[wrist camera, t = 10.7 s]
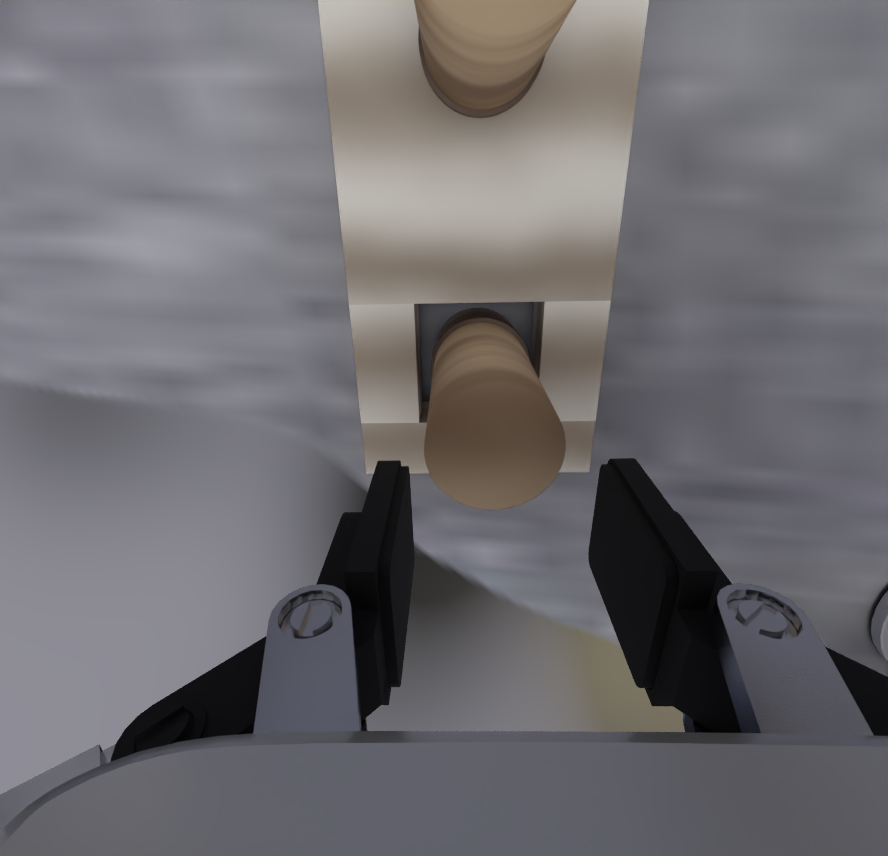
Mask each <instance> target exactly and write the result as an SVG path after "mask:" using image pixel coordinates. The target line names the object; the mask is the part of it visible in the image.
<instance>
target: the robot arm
mask: <svg viewBox="0 0 888 856" xmlns="http://www.w3.org/2000/svg"><path fill="white" fill-rule="evenodd" d="M589 564H590V568H591V570H592V573H593V575H594V578H595V581H596V583H597V586H598V588H599V591H600V594H601V596H602V599H603V601H604V604H605V606H606V609H607V612H608V614H609V617H610V619H611V622H612V625H613V627H614V630H615V632H616V635H617V637H618V640H619V643H620V645H621V648H622V650H623V653H624V655H625V658H626V661H627V663H628V666H629V669H630V671H631V673H632V676H633V679H634V681H635V683H636V685H637V686H638V687H639V688H645V690H646V692H647V694H648V697H649V699H650V702H651V705H652V706H674V707H675V708H677V709H678V710H680V711H681V712H683V724H684V729H685V732H550V731H549V732H547V731H546V732H544V731H540V732H539V731H367V719H366V717H367V716H368V715H370V714H371V713H372V712H373V711H374V710H376V709H377V708H378V707H379V706H380V705H389V699H390V692H391V687H400V685H401V677H402V669H403V660H404V651H405V642H406V633H407V624H408V615H409V606H410V597H411V588H412V579H413V569H414V541H413V524H412V507H411V489H410V472H409V466H401V461H400V460H390V461H378V462H377V465H376V468H375V471H374V474H373V478H372V481H371V484H370V488H369V491H368V494H367V498H366V501H365V504H364V507H363V510H362V512H345V513H343V515H342V517H341V519H340V522H339V525H338V527H337V530H336V533H335V536H334V538H333V541H332V544H331V546H330V549H329V552H328V555H327V557H326V560H325V563H324V566H323V568H322V571H321V574H320V576H319V579H318V582H317V584H316V585H310V586H306V587H303V588H299V589H297V590H295V591H293V592H291V593H289V594H288V595H287V596H286V597H284V598H283V599H282V600H280V601H279V602H278V604H277V605H276V606H275V608H274V609H273V610H272V612H271V615H270V618H269V623H268V630H267V636H266V637H264V638H262V639H261V640H259V641H258V642H256V643H254V644H253V645H251V646H250V647H248V648H246V649H244V650H243V651H241V652H239V653H238V654H236V655H235V656H233V657H231V658H230V659H228V660H226V661H225V662H223V663H221V664H220V665H218V666H216V667H215V668H213V669H211V670H210V671H208V672H206V673H205V674H203V675H201V676H200V677H198V678H197V679H195V680H193V681H192V682H190V683H188V684H187V685H185V686H183V687H182V688H180V689H178V690H177V691H175V692H174V693H172V694H170V695H169V696H167V697H165V698H164V699H162V700H160V701H159V702H157V703H155V704H154V705H152V706H151V707H149V708H148V709H147V710H145V711H144V712H143V713H141V714H140V715H139V716H137V718H136V719H135V720H134V721H133V722H132V723H131V724H130V725H129V726H128V727H127V728H126V729H125V730H124V732H123V734H122V735H121V737H120V738H119V740H118V741H117V743H116V744H115V745H113V746H111V747H109V748H107V749H106V750H104V751H103V750H102V748H101V747H100V745H97V746H95V747H93V748H91V749H89V750H87V751H85V752H83V753H81V754H79V755H77V756H75V757H73V758H71V759H69V760H67V761H65V762H63V763H62V764H60V765H58V766H56V767H54V768H52V769H50V770H48V771H46V772H44V773H42V774H40V775H38V776H36V777H34V778H32V779H30V780H28V781H26V782H24V783H22V784H20V785H19V786H16V787H14V788H12V789H10V790H9V791H7V792H5V793H3V794H1V795H0V856H888V677H886V676H884V675H882V674H880V673H878V672H876V671H874V670H872V669H870V668H868V667H866V666H864V665H862V664H860V663H858V662H856V661H853V660H851V659H849V658H847V657H845V656H843V655H841V654H839V653H837V652H835V651H833V650H831V649H829V648H827V647H825V646H824V644H823V642H822V640H821V639H820V637H819V635H818V633H817V631H816V630H815V628H814V626H813V624H812V622H811V620H810V619H809V618H808V617H807V615H806V614H805V613H804V611H803V610H802V609H801V608H799V607H798V606H797V605H796V604H795V603H793V602H792V601H791V600H789V599H787V598H786V597H784V596H782V595H781V594H779V593H777V592H774V591H772V590H769V589H767V588H764V587H760V586H756V585H752V584H740V583H737V584H732V583H731V582H730V581H729V579H728V578H727V577H726V575H725V574H724V573H723V571H722V570H721V569H720V567H719V566H718V565H717V563H716V562H715V561H714V559H713V558H712V557H711V555H710V554H709V553H708V551H707V550H706V549H705V547H704V546H703V545H702V543H701V542H700V541H699V539H698V538H697V537H696V535H695V534H694V533H693V531H692V530H691V529H690V527H689V526H688V525H687V523H686V522H685V521H684V519H683V518H682V517H681V516H680V515H679V514H678V513H677V512H676V511H674V510H673V509H672V508H671V506H670V505H669V504H668V502H667V501H666V500H665V498H664V497H663V495H662V494H661V493H660V491H659V490H658V489H657V487H656V486H655V485H654V483H653V482H652V481H651V479H650V478H649V477H648V475H647V474H646V473H645V471H644V470H643V468H642V467H641V466H640V464H639V463H638V462H637V460H636V459H633V458H627V459H610V460H609V461H608V464H602V465H601V467H600V472H599V479H598V487H597V494H596V501H595V509H594V516H593V523H592V531H591V538H590V545H589ZM871 636H872V640H873V644H874V645H875V647H876V648H877V650H878V652H879V653H880V654H881V655H882V656H883V657H884V658H885V659H886V660H887V661H888V590H887V592H886V593H885V594H884V596H883V597H882V599H881V600H880V602H879V604H878V605H877V607H876V610H875V613H874V615H873V618H872V624H871Z"/></svg>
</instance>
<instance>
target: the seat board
mask: <svg viewBox="0 0 888 856" xmlns="http://www.w3.org/2000/svg"><path fill="white" fill-rule="evenodd" d="M648 3H649V0H318V6H319V16H320V26H321V36H322V45H323V55H324V65H325V75H326V84H327V94H328V104H329V114H330V124H331V133H332V143H333V153H334V163H335V172H336V182H337V192H338V202H339V212H340V221H341V231H342V241H343V251H344V260H345V270H346V280H347V290H348V300H349V309H350V319H351V329H352V339H353V348H354V358H355V368H356V378H357V388H358V397H359V407H360V417H361V427H362V436H363V446H364V456H365V466H366V474H374V471H375V468H376V465H377V462H378V461H390V460H400V461H401V466H409V472H410V474H413V473H429V471H428V469H427V466H426V462H425V456H424V441H425V433H426V425H427V417H428V409H429V402H430V401H423V396H422V372H421V348H420V323H419V304H431V303H491V302H534V307H533V324H532V341H531V358H530V362H531V364H532V366H533V368H534V370H535V372H536V374H537V376H538V378H539V380H540V382H541V384H542V386H543V388H544V390H545V391H546V393H547V395H548V397H549V399H550V401H551V403H552V405H553V407H554V409H555V411H556V413H557V415H558V417H559V419H560V421H561V423H562V425H563V429H564V432H565V439H566V451H565V457H564V461H563V464H562V467H561V469H560V471H559V472H589V470H590V462H591V454H592V446H593V438H594V430H595V422H596V414H597V407H598V399H599V391H600V383H601V375H602V367H603V359H604V351H605V343H606V335H607V327H608V320H609V312H610V304H611V296H612V288H613V280H614V272H615V264H616V256H617V248H618V241H619V233H620V225H621V217H622V209H623V201H624V193H625V185H626V177H627V169H628V161H629V154H630V146H631V138H632V130H633V122H634V114H635V106H636V98H637V90H638V82H639V75H640V67H641V59H642V51H643V43H644V35H645V27H646V19H647V11H648Z"/></svg>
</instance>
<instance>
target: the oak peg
mask: <svg viewBox="0 0 888 856" xmlns="http://www.w3.org/2000/svg"><path fill="white" fill-rule="evenodd" d="M431 376H432V386H431V394H430V402H429V409H428V417H427V425H426V433H425V441H424V456H425V462H426V466H427V469H428V471H429V473H430V475H431V477H432V479H433V480H434V482H435V483H436V484H437V486H438V487H439V488H440V489H441V490H442V491H443V492H444V493H445V494H447V495H448V496H449V497H451V498H452V499H454V500H456V501H457V502H459V503H462V504H464V505H467V506H470V507H473V508H478V509H484V510H500V509H507V508H512V507H515V506H519V505H521V504H524V503H526V502H528V501H530V500H532V499H534V498H535V497H537V496H538V495H539V494H541V493H542V492H543V491H544V490H545V489H546V488H548V486H549V485H550V484H551V483H552V482H553V481H554V479H555V478H556V476H557V475H558V473H559V471H560V469H561V467H562V464H563V461H564V457H565V451H566V439H565V432H564V429H563V425H562V423H561V421H560V419H559V417H558V415H557V413H556V411H555V409H554V407H553V405H552V403H551V401H550V399H549V397H548V395H547V393H546V391H545V390H544V388H543V386H542V384H541V382H540V380H539V378H538V376H537V374H536V372H535V370H534V368H533V366H532V364H531V362H530V358H529V353H528V350H527V348H526V345H525V343H524V342H523V340H522V338H521V337H520V335H519V334H518V333H517V332H516V331H515V330H514V329H513V327H512V326H511V324H510V323H509V322H508V321H507V319H505V318H504V317H503V316H502V315H500V314H499V313H497V312H495V311H493V310H490V309H486V308H470V309H466V310H463V311H461V312H459V313H457V314H455V315H454V316H452V317H451V318H450V319H449V320H448V321H447V322H446V323H445V325H444V326H443V328H442V329H441V331H440V333H439V336H438V340H437V344H436V346H435V348H434V351H433V355H432V361H431Z"/></svg>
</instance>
